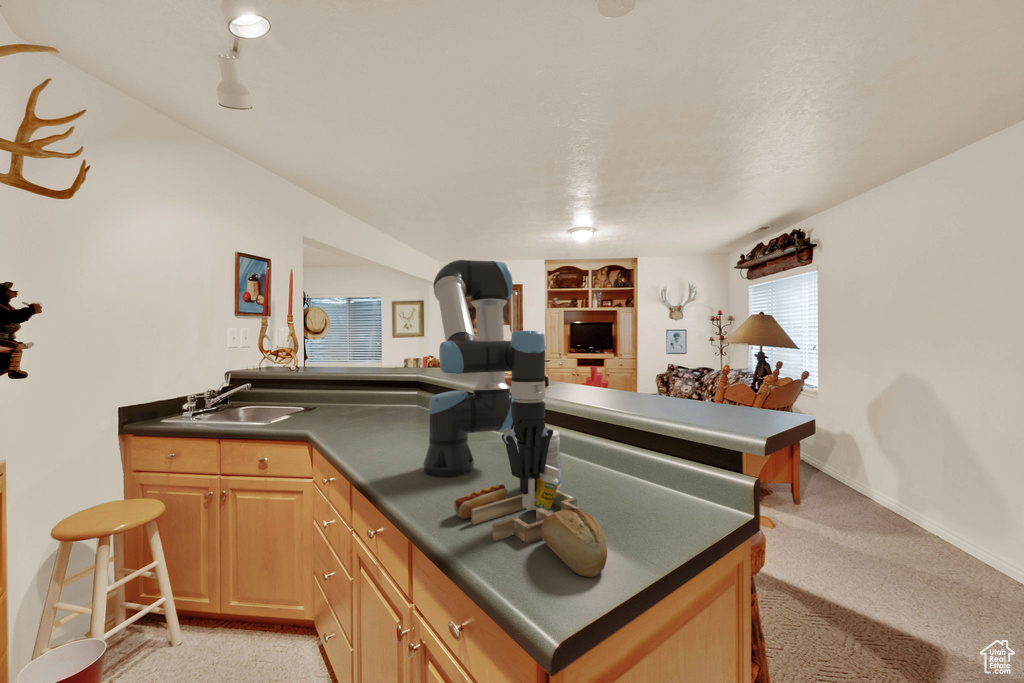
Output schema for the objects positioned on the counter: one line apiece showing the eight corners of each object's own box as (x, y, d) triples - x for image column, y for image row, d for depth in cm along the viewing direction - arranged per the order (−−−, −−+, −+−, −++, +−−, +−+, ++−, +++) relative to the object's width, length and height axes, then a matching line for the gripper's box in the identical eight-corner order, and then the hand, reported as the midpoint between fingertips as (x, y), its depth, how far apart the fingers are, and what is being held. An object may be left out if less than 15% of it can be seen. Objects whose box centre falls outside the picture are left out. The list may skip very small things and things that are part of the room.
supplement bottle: (539, 505, 93) (551, 465, 94) (554, 515, 88) (567, 472, 90) (522, 502, 90) (535, 461, 92) (536, 512, 85) (550, 468, 87)
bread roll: (569, 533, 80) (569, 494, 80) (623, 571, 66) (622, 524, 66) (528, 545, 75) (528, 504, 75) (577, 589, 62) (576, 538, 62)
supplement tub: (568, 489, 103) (567, 433, 103) (539, 498, 98) (538, 438, 98) (545, 479, 111) (544, 426, 111) (517, 486, 106) (516, 431, 106)
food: (496, 499, 98) (496, 479, 98) (511, 506, 94) (511, 485, 94) (449, 516, 88) (449, 494, 88) (463, 525, 84) (463, 501, 84)
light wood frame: (471, 523, 85) (471, 509, 85) (549, 498, 97) (549, 486, 97) (508, 551, 73) (508, 535, 73) (591, 519, 86) (591, 505, 86)
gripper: (514, 404, 81) (514, 520, 80) (561, 399, 88) (561, 506, 88) (494, 400, 87) (494, 508, 87) (540, 396, 94) (540, 496, 94)
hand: (528, 507), depth 87 cm, fingers closed
